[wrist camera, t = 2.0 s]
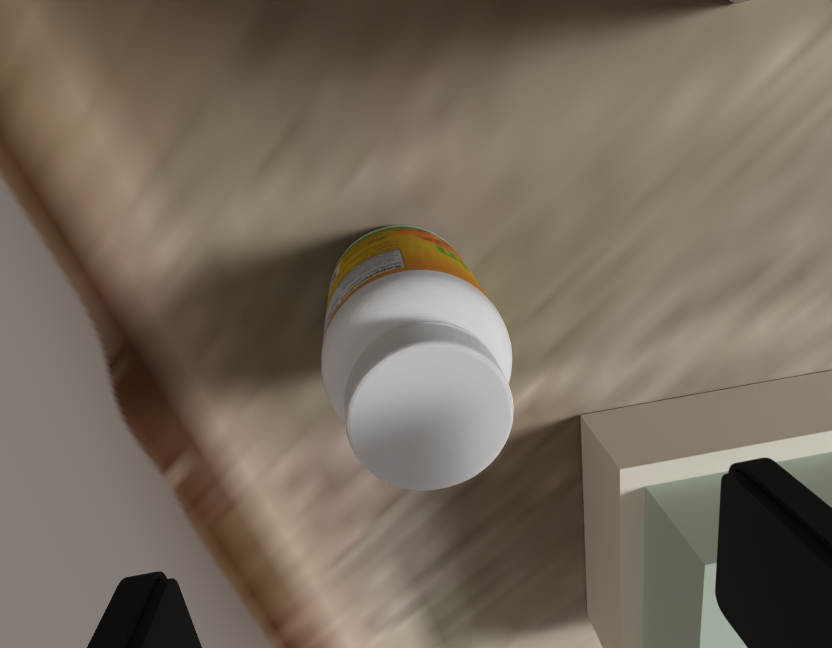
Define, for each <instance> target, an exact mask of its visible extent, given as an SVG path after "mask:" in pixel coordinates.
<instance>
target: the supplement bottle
mask: <svg viewBox="0 0 832 648" xmlns="http://www.w3.org/2000/svg"><path fill="white" fill-rule="evenodd" d="M321 369H322V379H323V384H324V388H325V391H326V394H327V397H328V399H329V401H330V403H331V405H332V407H333V409H334V410H335V412H336V414H337V415H338V416H339V418H340V419H341V420H342V421H343V422H344V423H345V424H346V432H347V436H348V440H349V442H350V445H351V447H352V449H353V451H354V453H355V455H356V456H357V458H358V459H359V461H360V462H361V463H362V464H363V465H364V467H365V468H367V469H368V470H369V471H370V472H371V473H372V474H374V475H375V476H376V477H378V478H380V479H381V480H383V481H385V482H387V483H389V484H392V485H395V486H398V487H401V488H406V489H411V490H436V489H443V488H447V487H451V486H454V485H457V484H460V483H462V482H464V481H466V480H468V479H471V478H472V477H474V476H475V475H477V474H478V473H480V472H481V471H482V470H484V469H485V468H486V467H487V466H489V465H490V464H491V463H492V461H493V460H494V459H495V458H496V457H497V456H498V454H499V453H500V451H501V450H502V448H503V447H504V445H505V443H506V441H507V439H508V436H509V434H510V430H511V427H512V422H513V399H512V394H511V390H510V387H509V385H508V384H509V380H510V376H511V370H512V349H511V343H510V339H509V335H508V332H507V329H506V327H505V324H504V322H503V320H502V318H501V316H500V314H499V312H498V311H497V309H496V307H495V306H494V305H493V303H492V302H491V300H490V299H489V297H488V296H487V295H486V293H485V291H484V290H483V289H482V287H481V286H480V284H479V283H478V281H477V279H476V278H475V277H474V275H473V274H472V273H471V271H470V270H469V269H468V267H467V266H466V264H465V263H464V261H463V260H462V258H461V257H460V256H459V254H458V253H457V252H456V251H455V249H454V248H453V247H452V246H451V245H450V244H449V243H448V242H447V241H445V240H444V239H443V238H441V237H440V236H438V235H437V234H435V233H433V232H431V231H429V230H426V229H423V228H420V227H416V226H409V225H394V226H387V227H383V228H380V229H377V230H374V231H372V232H370V233H367V234H366V235H364V236H362V237H361V238H359V239H358V240H356V241H355V242H354V243H353V244H352V245H350V246H349V247H348V249H347V250H346V251H345V252H344V253H343V255H342V256H341V258H340V259H339V261H338V263H337V265H336V267H335V269H334V272H333V275H332V278H331V282H330V286H329V293H328V302H327V311H326V317H325V327H324V336H323V344H322V354H321Z"/></svg>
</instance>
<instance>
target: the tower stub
mask: <svg viewBox="0 0 832 648" xmlns="http://www.w3.org/2000/svg"><path fill="white" fill-rule="evenodd" d="M580 418H581V446H582V475H583V504H584V533H585V561H586V590H587V614H588V616H589V619H590V621H591V623H592V625H593V627H594V630H595V632H596V634H597V636H598V638H599V640H600V643H601V645H602V647H603V648H747V646H746V645H745V644H744V642H743V641H742V640H741V638H740V637H739V636H738V634H737V633H736V632H735V630H734V629H733V628H732V626H731V625H730V624H729V622H728V621H727V620H726V618H725V617H724V615H723V614H722V612H721V610H720V608H719V606H718V603H717V600H716V596H715V583H716V565H717V547H718V528H719V510H720V491H721V479H722V476H723V475H724V474H727V473H728V472H729V468H730V466H731V465H732V464H734V463H738V462H743V461H749V460H754V459H759V458H764V457H765V458H770V459H772V460H773V461H775V462H776V463H777V464H779V465H780V466H781V467H782V468H784V469H785V470H786V471H787V472H788V473H790V474H791V475H792V476H793V477H795V478H796V479H797V480H798V481H800V482H801V483H802V484H803V485H804V486H806V487H807V488H808V489H809V490H811V491H812V492H813V493H814V494H816V495H817V496H818V497H819V498H820V499H822V500H823V501H824V502H825V503H827V504H828V505H829V506H830V507H832V370H830V371H824V372H819V373H813V374H807V375H802V376H796V377H791V378H785V379H779V380H774V381H768V382H763V383H757V384H751V385H746V386H740V387H735V388H729V389H723V390H718V391H712V392H707V393H701V394H695V395H690V396H684V397H679V398H673V399H667V400H662V401H656V402H651V403H645V404H639V405H634V406H628V407H623V408H617V409H611V410H606V411H600V412H595V413H589V414H583V415H580Z"/></svg>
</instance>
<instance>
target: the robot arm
mask: <svg viewBox="0 0 832 648" xmlns="http://www.w3.org/2000/svg"><path fill="white" fill-rule="evenodd" d="M715 596H716V600H717V603H718V606H719V608H720V610H721V612H722V614H723V615H724V617H725V618H726V620H727V621H728V622H729V624H730V625H731V626H732V628H733V629H734V630H735V632H736V633H737V634H738V636H739V637H740V638H741V640H742V641H743V642H744V644H745V645H746V646H747V648H832V507H830V506H829V505H828V504H827V503H825V502H824V501H823V500H822V499H820V498H819V497H818V496H817V495H816V494H814V493H813V492H812V491H811V490H809V489H808V488H807V487H806V486H804V485H803V484H802V483H801V482H800V481H798V480H797V479H796V478H795V477H793V476H792V475H791V474H790V473H788V472H787V471H786V470H785V469H784V468H782V467H781V466H780V465H779V464H777V463H776V462H775V461H773V460H772V459H770V458H765V457H764V458H759V459H754V460H749V461H743V462H738V463H734V464H732V465H731V466H730V468H729V472H728V473H727V474H724V475H723V476H722V479H721V491H720V510H719V528H718V547H717V565H716V583H715ZM87 648H202V647H201V644H200V641H199V639H198V636H197V633H196V631H195V628H194V625H193V623H192V620H191V617H190V614H189V612H188V609H187V606H186V604H185V601H184V598H183V596H182V593H181V590H180V587H179V585H178V583H177V581H176V580H175V579H172V578H171V579H167V578H166V576H165V574H163V572H153V573H148V574H142V575H137V576H132V577H126V578H124V579H123V580H121V582H120V583H119V585H118V586H117V589H116V591H115V593H114V594H113V596H112V599H111V601H110V603H109V605H108V607H107V609H106V611H105V613H104V615H103V617H102V619H101V621H100V623H99V625H98V627H97V629H96V631H95V633H94V635H93V637H92V639H91V641H90V643H89V645H88V647H87Z"/></svg>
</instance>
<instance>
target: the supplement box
mask: <svg viewBox="0 0 832 648" xmlns="http://www.w3.org/2000/svg"><path fill="white" fill-rule="evenodd" d="M729 1H732V2H735V3H741V2H745V1H748V0H729Z"/></svg>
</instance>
